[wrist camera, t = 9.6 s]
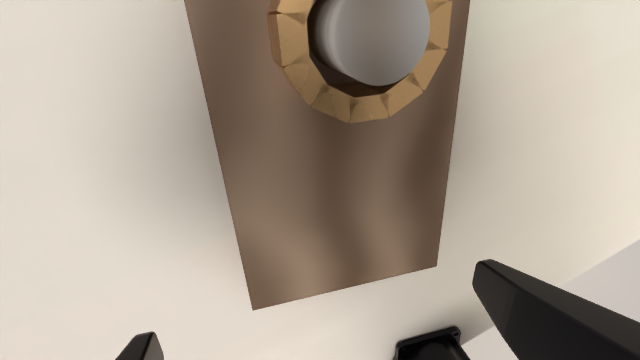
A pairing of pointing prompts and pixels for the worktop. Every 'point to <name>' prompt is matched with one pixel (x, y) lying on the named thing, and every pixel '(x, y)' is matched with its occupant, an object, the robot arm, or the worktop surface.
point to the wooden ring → (353, 97)
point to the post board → (328, 144)
